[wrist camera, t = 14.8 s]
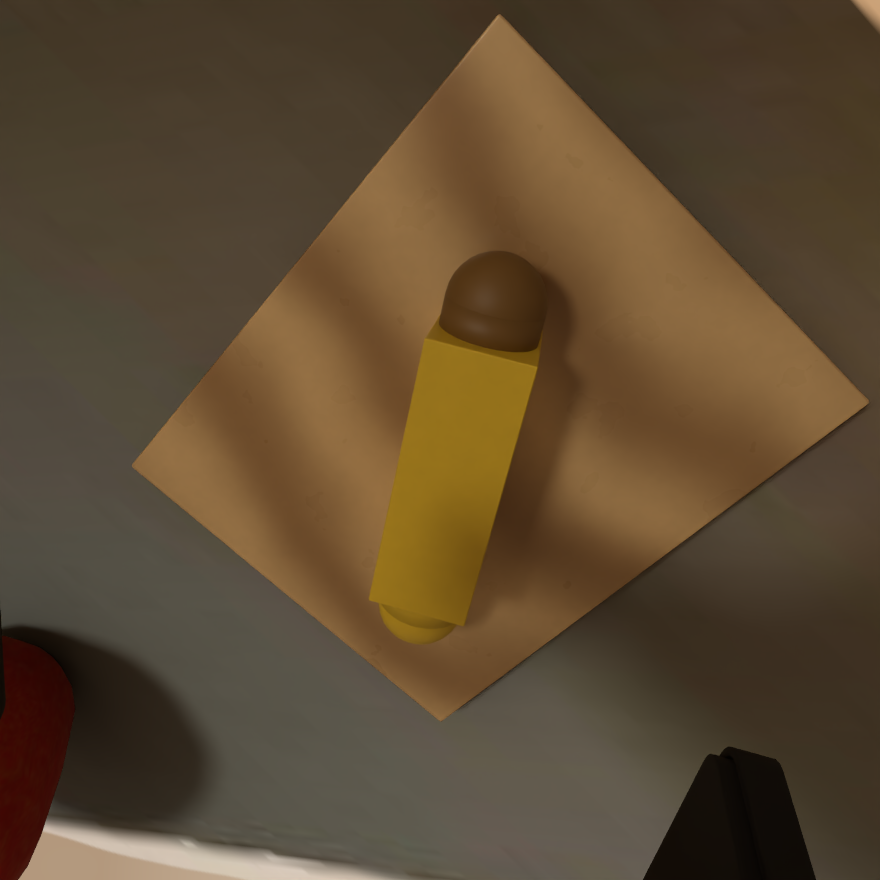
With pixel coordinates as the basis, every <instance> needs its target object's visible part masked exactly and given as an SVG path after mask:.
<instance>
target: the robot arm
mask: <svg viewBox="0 0 880 880" xmlns="http://www.w3.org/2000/svg"><path fill="white" fill-rule="evenodd" d="M5 704H6V695H5V678H4V662H3V645H2V628H1V612H0V719H1V717H2V714H3V712H4V709H5ZM643 880H816V878H815V875H814V871H813V868H812V865H811V861H810V858H809V855H808V851H807V848H806V845H805V842H804V838H803V835H802V832H801V828H800V825H799V822H798V818H797V815H796V812H795V808H794V805H793V802H792V799H791V795H790V792H789V789H788V785H787V782H786V779H785V775H784V772H783V770H782V767H781V765H780V763H779V762H778V761H777V760H776V759H773V758H769V757H766V756H762V755H759V754H755V753H751V752H748V751H744V750H741V749H737V748H734V747H727V748H725V749H724V750H723V752H722V753H721V754H720V756H717V755H713V754H709V755H708V756H707V757H706V758H705V760H704V762H703V763H702V765H701V767H700V769H699V771H698V773H697V775H696V777H695V779H694V781H693V783H692V785H691V787H690V789H689V791H688V793H687V795H686V797H685V799H684V801H683V803H682V804H681V806H680V808H679V810H678V812H677V814H676V816H675V818H674V820H673V822H672V824H671V826H670V828H669V830H668V832H667V834H666V836H665V838H664V840H663V842H662V843H661V845H660V847H659V849H658V851H657V853H656V855H655V857H654V859H653V861H652V863H651V865H650V867H649V869H648V871H647V873H646V875H645V877H644V879H643Z"/></svg>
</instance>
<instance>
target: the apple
mask: <svg viewBox="0 0 880 880" xmlns="http://www.w3.org/2000/svg"><path fill="white" fill-rule="evenodd" d="M2 645H3V662H4V678H5V695H6V704H5V709H4V712H3V714H2V717H1V719H0V880H18V879H19V878H20V876H21V875H22V873H23V872H24V870H25V869H26V868H27V866H28V864H29V862H30V860H31V857H32V855H33V853H34V850H35V848H36V846H37V843H38V841H39V839H40V837H41V834H42V831H43V828H44V825H45V821H46V818H47V815H48V812H49V809H50V806H51V803H52V800H53V797H54V794H55V791H56V787H57V784H58V781H59V778H60V775H61V772H62V769H63V764H64V759H65V755H66V750H67V745H68V741H69V736H70V731H71V727H72V722H73V718H74V713H75V704H74V698H73V692H72V686H71V684H70V682H69V681H68V679H67V677H66V675H65V673H64V671H63V669H62V668H61V666H60V665H59V664H58V663H57V662H56V660H55V659H54V658H53V657H52V656H51V655H49V654H48V653H47V652H45V651H44V650H43V649H41V648H40V647H37V646H35V645H32V644H29V643H27V642H24V641H20V640H17V639H14V638H10V637H7V636H2Z"/></svg>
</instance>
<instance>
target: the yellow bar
mask: <svg viewBox="0 0 880 880" xmlns="http://www.w3.org/2000/svg"><path fill="white" fill-rule="evenodd" d="M547 308H548V296H547V292H546V287H545V284H544V282H543V280H542V277H541V275H540V274H539V273H538V271H537V270H536V269H535V267H534V266H533V265H531V264H530V263H529V262H528V261H527V260H526V259H524V258H522V257H520V256H518V255H516V254H514V253H511V252H507V251H488V252H484V253H480V254H477V255H475V256H473V257H471V258H469V259H468V260H467V261H465V262H464V263H463V264H461V265H460V266H459V268H458V269H457V270H456V271H455V272H454V274H453V275H452V277H451V279H450V281H449V283H448V286H447V289H446V292H445V296H444V301H443V305H442V310H441V314H440V315H439V317H438V319H437V320H436V322H435V323H434V325H433V326H432V328H431V330H430V331H429V333H428V334H427V336H426V337H425V339H424V343H423V348H422V353H421V357H420V362H419V366H418V371H417V376H416V380H415V385H414V390H413V394H412V399H411V404H410V408H409V413H408V418H407V422H406V427H405V432H404V436H403V441H402V446H401V450H400V455H399V460H398V464H397V469H396V474H395V478H394V483H393V488H392V492H391V497H390V502H389V506H388V511H387V516H386V520H385V525H384V529H383V534H382V539H381V543H380V548H379V553H378V557H377V562H376V567H375V571H374V576H373V581H372V585H371V590H370V595H369V600H370V601H373V602H377V603H379V611H380V614H381V617H382V619H383V622H384V624H385V625H386V627H387V628H388V629H389V630H390V631H391V632H392V633H393V634H394V635H395V636H396V637H398V638H399V639H401V640H403V641H406V642H408V643H412V644H420V645H424V644H431V643H434V642H437V641H439V640H441V639H443V638H444V637H446V636H447V635H448V634H450V633H451V632H452V631H453V629H454V628H455V627H456V625H460V626H464V625H465V623H466V619H467V616H468V612H469V609H470V605H471V602H472V598H473V595H474V591H475V588H476V584H477V581H478V577H479V574H480V570H481V567H482V563H483V560H484V556H485V553H486V549H487V546H488V542H489V539H490V535H491V532H492V528H493V525H494V521H495V518H496V514H497V511H498V507H499V504H500V500H501V497H502V493H503V490H504V486H505V483H506V479H507V476H508V472H509V469H510V465H511V462H512V458H513V455H514V451H515V448H516V444H517V441H518V437H519V434H520V430H521V427H522V423H523V420H524V416H525V413H526V409H527V406H528V402H529V399H530V395H531V392H532V388H533V385H534V381H535V378H536V374H537V371H538V365H539V357H540V350H541V342H542V334H543V326H544V322H545V318H546V314H547Z"/></svg>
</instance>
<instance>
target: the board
mask: <svg viewBox="0 0 880 880" xmlns="http://www.w3.org/2000/svg"><path fill="white" fill-rule="evenodd" d="M488 251H507V252H511V253H514V254H516V255H518V256H520V257H522V258H524V259H526V260H527V261H528V262H529V263H530V264H531V265H533V266H534V267H535V269H536V270H537V271H538V273H539V274H540V275H541V277H542V280H543V282H544V284H545V287H546V292H547V296H548V308H547V314H546V318H545V322H544V326H543V334H542V342H541V350H540V357H539V365H538V371H537V374H536V378H535V381H534V385H533V388H532V392H531V395H530V399H529V402H528V406H527V409H526V413H525V416H524V420H523V423H522V427H521V430H520V434H519V437H518V441H517V444H516V448H515V451H514V455H513V458H512V462H511V465H510V469H509V472H508V476H507V479H506V483H505V486H504V490H503V493H502V497H501V500H500V504H499V507H498V511H497V514H496V518H495V521H494V525H493V528H492V532H491V535H490V539H489V542H488V546H487V549H486V553H485V556H484V560H483V563H482V567H481V570H480V574H479V577H478V581H477V584H476V588H475V591H474V595H473V598H472V602H471V605H470V609H469V612H468V616H467V619H466V623H465V625H464V626H460V625H456V627H455V628H454V629H453V631H452V632H451V633H450V634H448V635H447V636H446V637H444V638H443V639H441V640H439V641H437V642H434V643H431V644H424V645H420V644H412V643H408V642H406V641H403V640H401V639H399V638H398V637H396V636H395V635H394V634H393V633H392V632H391V631H390V630H389V629H388V628H387V627H386V625H385V624H384V622H383V619H382V617H381V614H380V611H379V603H377V602H373V601H370V600H369V595H370V590H371V585H372V581H373V576H374V571H375V567H376V562H377V557H378V553H379V548H380V543H381V539H382V534H383V529H384V525H385V520H386V516H387V511H388V506H389V502H390V497H391V492H392V488H393V483H394V478H395V474H396V469H397V464H398V460H399V455H400V450H401V446H402V441H403V436H404V432H405V427H406V422H407V418H408V413H409V408H410V404H411V399H412V394H413V390H414V385H415V380H416V376H417V371H418V366H419V362H420V357H421V353H422V348H423V343H424V339H425V337H426V336H427V334H428V333H429V331H430V330H431V328H432V326H433V325H434V323H435V322H436V320H437V319H438V317H439V315H440V314H441V310H442V305H443V301H444V296H445V292H446V289H447V286H448V283H449V281H450V279H451V277H452V275H453V274H454V272H455V271H456V270H457V269H458V268H459V266H460V265H461V264H463V263H464V262H465V261H467V260H468V259H469V258H471V257H473V256H475V255H477V254H480V253H484V252H488ZM867 404H869V400H868V399H867V398H866V397H865V396H864V395H863V394H862V393H861V392H860V391H859V389H858V388H857V387H856V386H855V385H854V384H853V383H852V382H851V381H850V380H849V379H848V378H847V377H846V376H845V375H844V374H843V373H842V372H841V371H840V370H839V368H838V367H837V366H836V365H835V364H834V363H833V362H832V361H831V360H830V359H829V358H828V357H827V356H826V355H825V354H824V353H823V352H822V351H821V350H820V349H819V347H818V346H817V345H816V344H815V343H814V342H813V341H812V340H811V339H810V338H809V337H808V336H807V335H806V334H805V333H804V332H803V331H802V330H801V329H800V328H799V327H798V325H797V324H796V323H795V322H794V321H793V320H792V319H791V318H790V317H789V316H788V315H787V314H786V313H785V312H784V311H783V310H782V309H781V308H780V307H779V306H778V304H777V303H776V302H775V301H774V300H773V299H772V298H771V297H770V296H769V295H768V294H767V293H766V292H765V291H764V290H763V289H762V288H761V287H760V286H759V285H758V284H757V282H756V281H755V280H754V279H753V278H752V277H751V276H750V275H749V274H748V273H747V272H746V271H745V270H744V269H743V268H742V267H741V266H740V265H739V264H738V263H737V261H736V260H735V259H734V258H733V257H732V256H731V255H730V254H729V253H728V252H727V251H726V250H725V249H724V248H723V247H722V246H721V245H720V244H719V243H718V242H717V241H716V239H715V238H714V237H713V236H712V235H711V234H710V233H709V232H708V231H707V230H706V229H705V228H704V227H703V226H702V225H701V224H700V223H699V222H698V221H697V220H696V218H695V217H694V216H693V215H692V214H691V213H690V212H689V211H688V210H687V209H686V208H685V207H684V206H683V205H682V204H681V203H680V202H679V201H678V200H677V199H676V197H675V196H674V195H673V194H672V193H671V192H670V191H669V190H668V189H667V188H666V187H665V186H664V185H663V184H662V183H661V182H660V181H659V180H658V179H657V178H656V177H655V175H654V174H653V173H652V172H651V171H650V170H649V169H648V168H647V167H646V166H645V165H644V164H643V163H642V162H641V161H640V160H639V159H638V158H637V157H636V156H635V154H634V153H633V152H632V151H631V150H630V149H629V148H628V147H627V146H626V145H625V144H624V143H623V142H622V141H621V140H620V139H619V138H618V137H617V136H616V135H615V134H614V132H613V131H612V130H611V129H610V128H609V127H608V126H607V125H606V124H605V123H604V122H603V121H602V120H601V119H600V118H599V117H598V116H597V115H596V114H595V113H594V111H593V110H592V109H591V108H590V107H589V106H588V105H587V104H586V103H585V102H584V101H583V100H582V99H581V98H580V97H579V96H578V95H577V94H576V93H575V92H574V90H573V89H572V88H571V87H570V86H569V85H568V84H567V83H566V82H565V81H564V80H563V79H562V78H561V77H560V76H559V75H558V74H557V73H556V72H555V71H554V70H553V68H552V67H551V66H550V65H549V64H548V63H547V62H546V61H545V60H544V59H543V58H542V57H541V56H540V55H539V54H538V53H537V52H536V51H535V50H534V49H533V47H532V46H531V45H530V44H529V43H528V42H527V41H526V40H525V39H524V38H523V37H522V36H521V35H520V34H519V33H518V32H517V31H516V30H515V29H514V28H513V27H512V25H511V24H510V23H509V22H508V21H507V20H506V19H505V18H504V17H503V16H502V15H500V14H499V15H497V16H496V18H495V19H494V20H493V21H492V23H491V24H490V25H489V26H488V27H487V29H486V30H485V31H484V32H483V34H482V35H481V36H480V37H479V39H478V40H477V41H476V42H475V43H474V45H473V46H472V47H471V48H470V50H469V51H468V52H467V53H466V55H465V56H464V57H463V58H462V59H461V61H460V62H459V63H458V64H457V66H456V67H455V68H454V69H453V71H452V72H451V73H450V74H449V75H448V77H447V78H446V79H445V80H444V82H443V83H442V84H441V85H440V87H439V88H438V89H437V90H436V91H435V93H434V94H433V95H432V96H431V98H430V99H429V100H428V101H427V103H426V104H425V105H424V106H423V107H422V109H421V110H420V111H419V112H418V114H417V115H416V116H415V117H414V119H413V120H412V121H411V122H410V123H409V125H408V126H407V127H406V128H405V130H404V131H403V132H402V133H401V134H400V136H399V137H398V138H397V139H396V141H395V142H394V143H393V144H392V146H391V147H390V148H389V149H388V150H387V152H386V153H385V154H384V155H383V157H382V158H381V159H380V160H379V162H378V163H377V164H376V165H375V166H374V168H373V169H372V170H371V171H370V173H369V174H368V175H367V176H366V178H365V179H364V180H363V181H362V182H361V184H360V185H359V186H358V187H357V189H356V190H355V191H354V192H353V194H352V195H351V196H350V197H349V198H348V200H347V201H346V202H345V203H344V205H343V206H342V207H341V208H340V210H339V211H338V212H337V213H336V214H335V216H334V217H333V218H332V219H331V221H330V222H329V223H328V224H327V225H326V227H325V228H324V229H323V230H322V232H321V233H320V234H319V235H318V237H317V238H316V239H315V240H314V241H313V243H312V244H311V245H310V246H309V248H308V249H307V250H306V251H305V253H304V254H303V255H302V256H301V257H300V259H299V260H298V261H297V262H296V264H295V265H294V266H293V267H292V269H291V270H290V271H289V272H288V273H287V275H286V276H285V277H284V278H283V280H282V281H281V282H280V283H279V285H278V286H277V287H276V288H275V289H274V291H273V292H272V293H271V294H270V296H269V297H268V298H267V299H266V301H265V302H264V303H263V304H262V305H261V307H260V308H259V309H258V310H257V312H256V313H255V314H254V315H253V317H252V318H251V319H250V320H249V321H248V323H247V324H246V325H245V326H244V328H243V329H242V330H241V331H240V332H239V334H238V335H237V336H236V337H235V339H234V340H233V341H232V342H231V344H230V345H229V346H228V347H227V348H226V350H225V351H224V352H223V353H222V355H221V356H220V357H219V358H218V360H217V361H216V362H215V363H214V364H213V366H212V367H211V368H210V369H209V371H208V372H207V373H206V374H205V376H204V377H203V378H202V379H201V380H200V382H199V383H198V384H197V385H196V387H195V388H194V389H193V390H192V392H191V393H190V394H189V395H188V396H187V398H186V399H185V400H184V401H183V403H182V404H181V405H180V406H179V408H178V409H177V410H176V411H175V412H174V414H173V415H172V416H171V417H170V419H169V420H168V421H167V422H166V423H165V425H164V426H163V427H162V428H161V430H160V431H159V432H158V433H157V435H156V436H155V437H154V438H153V439H152V441H151V442H150V443H149V444H148V446H147V447H146V448H145V449H144V451H143V452H142V453H141V454H140V455H139V457H138V458H137V459H136V460H135V462H134V463H133V464H132V467H133V468H134V469H135V470H136V471H138V472H139V473H140V474H141V475H142V476H144V477H145V478H146V479H147V480H149V481H150V482H151V483H152V484H153V485H155V486H156V487H157V488H158V489H159V490H161V491H162V492H163V493H164V494H165V495H167V496H168V497H169V498H170V499H172V500H173V501H174V502H175V503H176V504H178V505H179V506H180V507H181V508H182V509H184V510H185V511H186V512H187V513H188V514H190V515H191V516H192V517H193V518H195V519H196V520H197V521H198V522H199V523H201V524H202V525H203V526H204V527H205V528H207V529H208V530H209V531H210V532H211V533H213V534H214V535H215V536H216V537H217V538H219V539H220V540H221V541H222V542H224V543H225V544H226V545H227V546H228V547H230V548H231V549H232V550H233V551H234V552H236V553H237V554H238V555H239V556H240V557H242V558H243V559H244V560H245V561H247V562H248V563H249V564H250V565H251V566H253V567H254V568H255V569H256V570H257V571H259V572H260V573H261V574H262V575H263V576H265V577H266V578H267V579H268V580H270V581H271V582H272V583H273V584H274V585H276V586H277V587H278V588H279V589H280V590H282V591H283V592H284V593H285V594H286V595H288V596H289V597H290V598H291V599H293V600H294V601H295V602H296V603H297V604H299V605H300V606H301V607H302V608H303V609H305V610H306V611H307V612H308V613H309V614H311V615H312V616H313V617H314V618H315V619H317V620H318V621H319V622H320V623H322V624H323V625H324V626H325V627H326V628H328V629H329V630H330V631H331V632H332V633H334V634H335V635H336V636H337V637H338V638H340V639H341V640H342V641H343V642H345V643H346V644H347V645H348V646H349V647H351V648H352V649H353V650H354V651H355V652H357V653H358V654H359V655H360V656H361V657H363V658H364V659H365V660H366V661H368V662H369V663H370V664H371V665H372V666H374V667H375V668H376V669H377V670H378V671H380V672H381V673H382V674H383V675H384V676H386V677H387V678H388V679H389V680H391V681H392V682H393V683H394V684H395V685H397V686H398V687H399V688H400V689H401V690H403V691H404V692H405V693H406V694H407V695H409V696H410V697H411V698H412V699H413V700H415V701H416V702H417V703H418V704H420V705H421V706H422V707H423V708H424V709H426V710H427V711H428V712H429V713H430V714H432V715H433V716H434V717H435V718H436V719H438V720H439V721H442V720H444V719H445V718H447V717H448V716H449V715H451V714H452V713H453V712H455V711H456V710H457V709H459V708H460V707H461V706H463V705H464V704H465V703H467V702H468V701H469V700H471V699H472V698H473V697H475V696H476V695H477V694H479V693H480V692H481V691H483V690H484V689H486V688H487V687H488V686H490V685H491V684H492V683H494V682H495V681H496V680H498V679H499V678H500V677H502V676H503V675H504V674H506V673H507V672H508V671H510V670H511V669H512V668H514V667H515V666H516V665H518V664H519V663H520V662H522V661H523V660H525V659H526V658H527V657H529V656H530V655H531V654H533V653H534V652H535V651H537V650H538V649H539V648H541V647H542V646H543V645H545V644H546V643H547V642H549V641H550V640H551V639H553V638H554V637H555V636H557V635H558V634H559V633H561V632H562V631H563V630H565V629H566V628H568V627H569V626H570V625H572V624H573V623H574V622H576V621H577V620H578V619H580V618H581V617H582V616H584V615H585V614H586V613H588V612H589V611H590V610H592V609H593V608H594V607H596V606H597V605H598V604H600V603H601V602H602V601H604V600H605V599H607V598H608V597H609V596H611V595H612V594H613V593H615V592H616V591H617V590H619V589H620V588H621V587H623V586H624V585H625V584H627V583H628V582H629V581H631V580H632V579H633V578H635V577H636V576H637V575H639V574H640V573H641V572H643V571H644V570H646V569H647V568H648V567H650V566H651V565H652V564H654V563H655V562H656V561H658V560H659V559H660V558H662V557H663V556H664V555H666V554H667V553H668V552H670V551H671V550H672V549H674V548H675V547H676V546H678V545H679V544H680V543H682V542H683V541H685V540H686V539H687V538H689V537H690V536H691V535H693V534H694V533H695V532H697V531H698V530H699V529H701V528H702V527H703V526H705V525H706V524H707V523H709V522H710V521H711V520H713V519H714V518H715V517H717V516H718V515H719V514H721V513H722V512H724V511H725V510H726V509H728V508H729V507H730V506H732V505H733V504H734V503H736V502H737V501H738V500H740V499H741V498H742V497H744V496H745V495H746V494H748V493H749V492H750V491H752V490H753V489H754V488H756V487H757V486H758V485H760V484H761V483H763V482H764V481H765V480H767V479H768V478H769V477H771V476H772V475H773V474H775V473H776V472H777V471H779V470H780V469H781V468H783V467H784V466H785V465H787V464H788V463H789V462H791V461H792V460H793V459H795V458H796V457H797V456H799V455H800V454H802V453H803V452H804V451H806V450H807V449H808V448H810V447H811V446H812V445H814V444H815V443H816V442H818V441H819V440H820V439H822V438H823V437H824V436H826V435H827V434H828V433H830V432H831V431H832V430H834V429H835V428H836V427H838V426H839V425H840V424H842V423H843V422H845V421H846V420H847V419H849V418H850V417H851V416H853V415H854V414H855V413H857V412H858V411H859V410H861V409H862V408H863V407H865V406H866V405H867Z"/></svg>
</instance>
